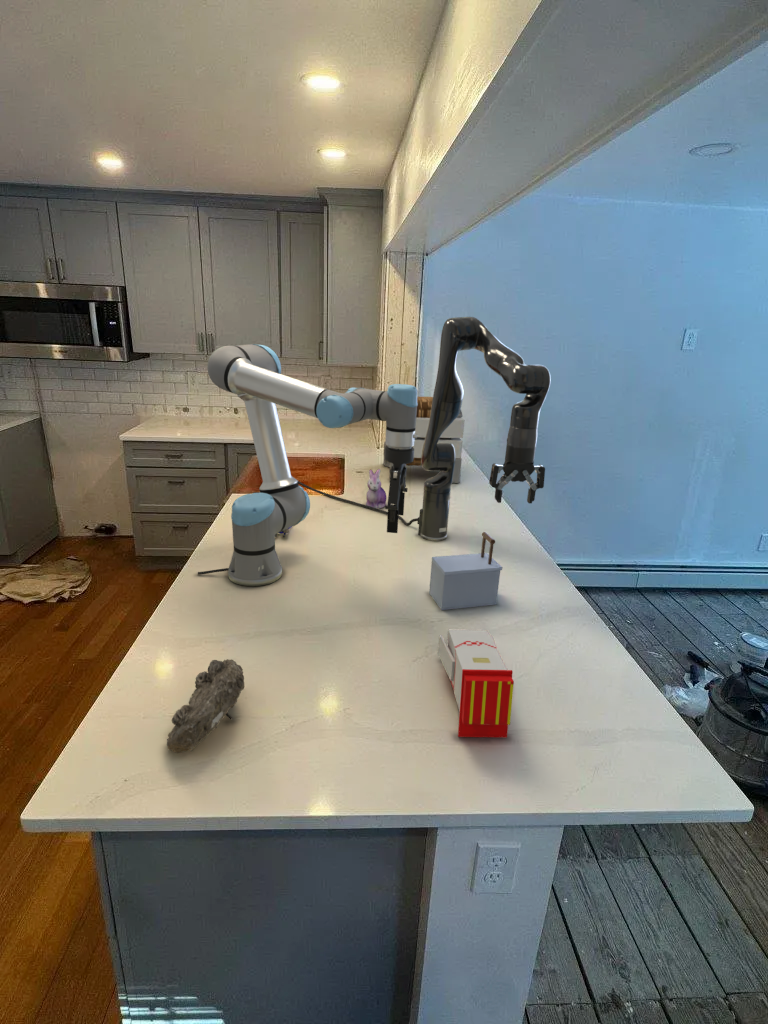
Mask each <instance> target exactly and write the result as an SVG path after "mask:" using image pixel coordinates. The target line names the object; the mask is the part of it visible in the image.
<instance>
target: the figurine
mask: <svg viewBox="0 0 768 1024" xmlns="http://www.w3.org/2000/svg"><path fill="white" fill-rule="evenodd" d="M380 475H381V468H378V469H377V470H376V471H375V472H373V470H372V469H369V470H368V476H369V479H368V481H367V483H366V485H367V488H368V490H367V491H366V502H365V505H367V506H370V507H374V508H377V509H382V508H385V506H387V505H386V503H387V493H386V491H385V489H384V488H383V487H382V481H381V479H380Z"/></svg>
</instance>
